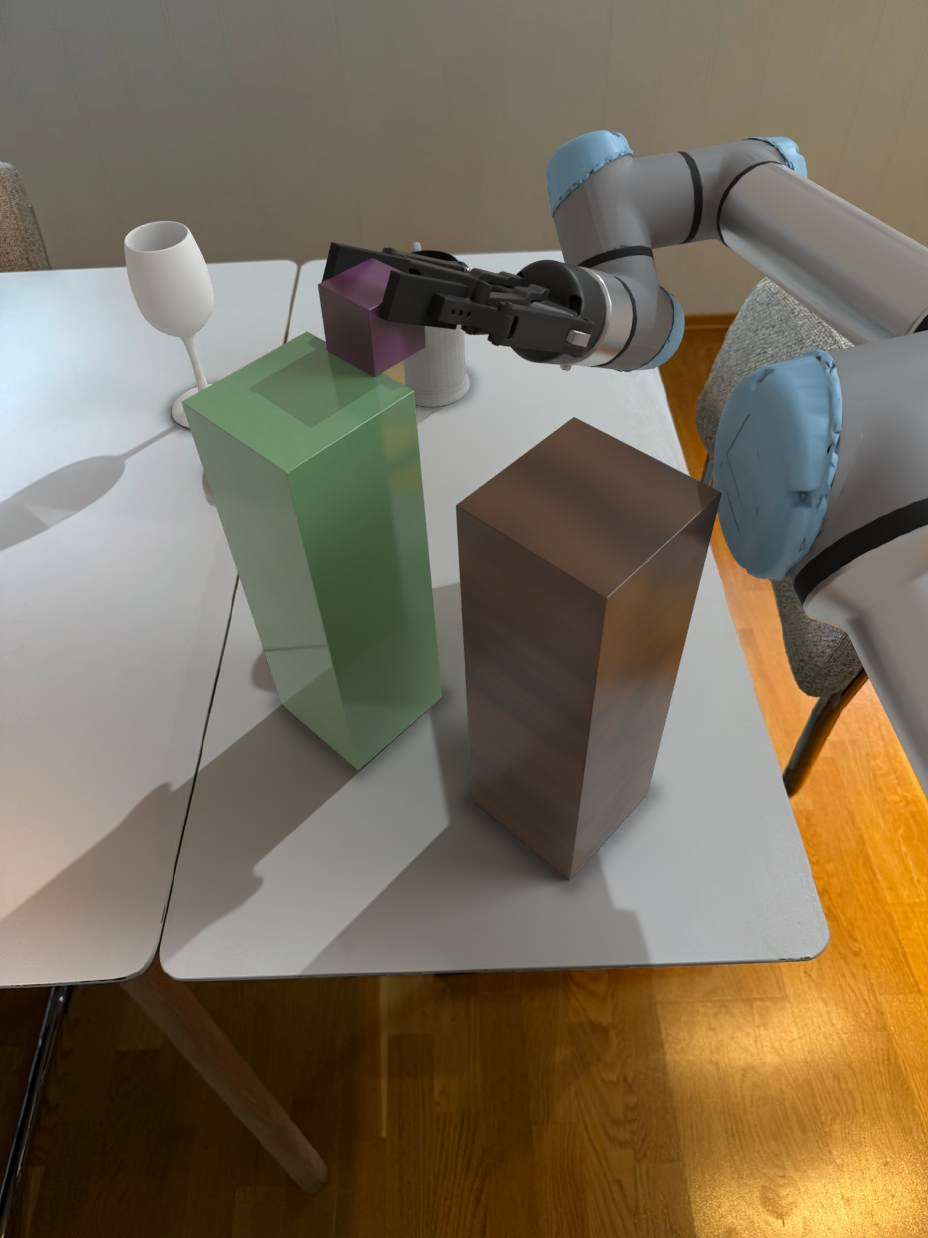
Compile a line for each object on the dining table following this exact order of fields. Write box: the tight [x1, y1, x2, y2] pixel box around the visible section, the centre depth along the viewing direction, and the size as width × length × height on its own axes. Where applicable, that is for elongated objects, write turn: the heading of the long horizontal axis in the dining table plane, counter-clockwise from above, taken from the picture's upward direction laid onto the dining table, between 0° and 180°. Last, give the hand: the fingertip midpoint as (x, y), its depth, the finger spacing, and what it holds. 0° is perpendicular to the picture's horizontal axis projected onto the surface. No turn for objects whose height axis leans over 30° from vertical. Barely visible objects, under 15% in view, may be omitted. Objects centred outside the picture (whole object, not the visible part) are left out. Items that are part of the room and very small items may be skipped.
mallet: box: [317, 258, 426, 385], centre depth 60 cm, size 16×4×4 cm
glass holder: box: [404, 241, 471, 408], centre depth 104 cm, size 9×14×15 cm, turn 9°
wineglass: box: [123, 220, 215, 429], centre depth 99 cm, size 9×9×21 cm
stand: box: [455, 416, 722, 881], centre depth 60 cm, size 10×10×32 cm
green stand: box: [181, 331, 443, 771], centre depth 66 cm, size 10×10×32 cm
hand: (359, 280), depth 53 cm, fingers closed on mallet, 4 cm apart
